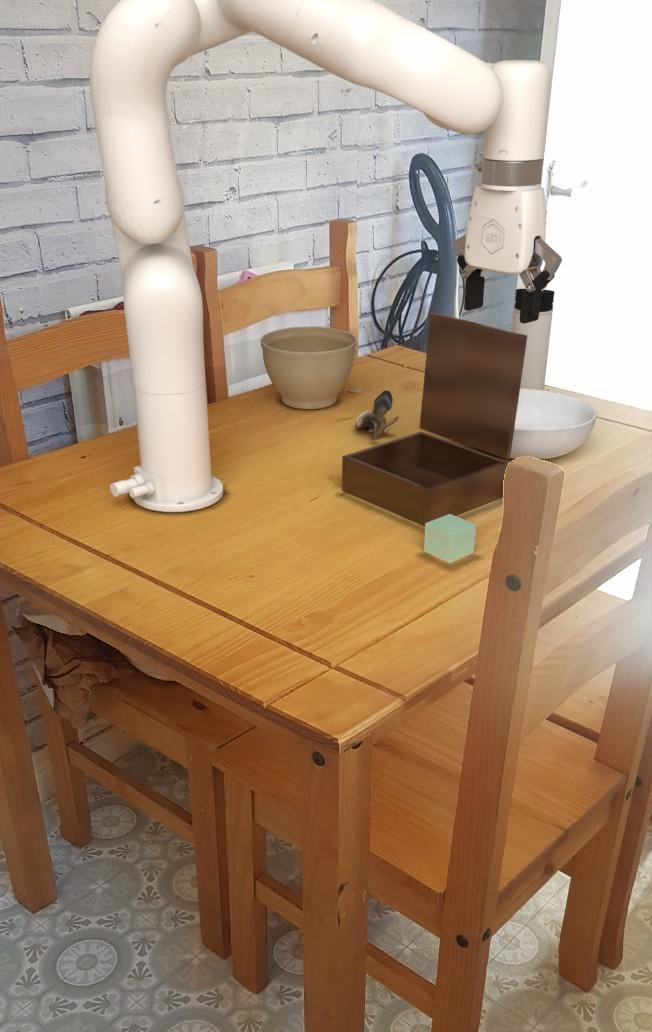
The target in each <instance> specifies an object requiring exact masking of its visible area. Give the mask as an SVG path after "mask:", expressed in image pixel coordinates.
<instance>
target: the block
mask: <svg viewBox="0 0 652 1032" xmlns="http://www.w3.org/2000/svg"><path fill="white" fill-rule="evenodd" d="M476 534H477V524H476V523H474V522H471V521H469V520H466V519H463V518H461V517H460V516H454V515H452V514H448V515H445V516H443V517H440V518H438V519H435V520H433V521H430V522H427V523H425V526H424V541H423V552H424V553H427V554H429V555H431V556H433V557H435V558H438V559H440V560H442V561H444V562H446V563H449V564H451V563H454V562H456V561H459V560H460V559H463V558H465V557H467V556H468V557H469V556H470V555H472V554H474V553H475V547H476Z"/></svg>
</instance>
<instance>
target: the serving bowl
mask: <svg viewBox="0 0 652 1032" xmlns="http://www.w3.org/2000/svg"><path fill="white" fill-rule="evenodd" d="M597 417H598V412H597V409H596V407H595V406H593V405H592V404H591V403H589V402H587V401H585V400H583V399H581V398H579V397H575V396H573V395H569V394H565V393H560V392H555V391H549V390H545V389H544V390H536V389H520V392H519V399H518V406H517V413H516V420H515V427H514V434H513V442H512V449H511V456H510V458H509V459H513V460H515V458H517V457H521V456H530V457H535V458H538V459H539V460H547V459H554V458H557V457H562V456H565V455H568V454H570V453H571V452H573V451H575V450H576V449H578V448H579V447H580V446H581V445H582V444H584V443H585V441H586V440H588V438H589V436H590V435H591V433H592V431H593V429H594V426H595V423H596V421H597Z"/></svg>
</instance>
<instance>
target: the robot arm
mask: <svg viewBox="0 0 652 1032" xmlns="http://www.w3.org/2000/svg"><path fill="white" fill-rule="evenodd" d="M252 32H254V33H255V34H257V35H259V36H260V37H263V38H265V39H266V40H268V41H270V42H272V43H274V44H276V45H277V46H280V47H282V48H283V49H285V50H287V51H289V52H291V53H292V54H294V55H297V56H299V57H300V58H302V59H305V60H306V61H308V62H310V63H311V64H314V65H315V66H317V67H319V68H320V69H323V70H324V71H326V72H328V73H330V74H332V75H334V76H336V77H338V78H339V79H342V80H344V81H346V82H348V83H352V84H353V85H357V86H360V87H365V88H367V89H371V90H373V91H376V92H379V93H382V94H384V95H385V96H389V97H391V98H392V99H395V100H397V101H399V102H401V103H403V104H405V105H407V106H408V107H411V108H413V109H415V110H417V111H418V112H421V114H423V115H424V116H425V117H426V119H427V120H428V121H429V122H430V123H431V124H433V125H435V126H436V127H439V128H441V129H444V130H447V131H451V132H455V133H457V134H459V135H464V136H465V135H466V136H471V135H477V134H480V133H481V132H483V143H482V144H483V146H482V159H481V160H480V161H479V162H478V163H477V166H476V167H477V171H478V172H479V173H481V174H480V175H481V176H480V183H477V184H476V185H475V188H474V191H473V194H472V198H471V203H470V207H469V213H468V218H467V226H466V233H465V234H464V235H462V236H460V237H458V238H457V239H455V240H454V241H453V244H452V245H453V249H454V252H455V255H456V257H457V258H456V263H457V265H458V267H459V268H460V270H461V277H462V278H463V279H464V280H465V283H464V284H465V286H464V303H463V310H464V311H472V310H476V309H481V308H482V307H483V306H484V295H485V281H486V279H485V276H481V275H482V274H483V273H484V272H485V271H488V272H492V273H498V274H504V275H508V276H517V275H519V277H520V279H521V282H522V283H523V285H524V287H525V289H526V290H527V291H523V292H522V297H521V309H520V322H521V323H524V324H525V323H529V322H533V321H537V320H538V318H539V313H540V305H541V294H542V290H543V289H544V290H546V288H547V287H548V285H549V284H550V283H551V281H552V280H553V279H554V278H555V276H556V273H557V272H558V269H559V268H560V266H561V264H562V262H563V258H562V257H561V255H560V254H559V253H557V251H555V250H554V249H553V248H552V247H551V246H550V245H549V244H548V243H547V242H546V232H547V231H546V230H547V211H546V196H545V188H544V187H542V179H543V167H544V158H545V157H544V156H545V147H546V146H545V145H546V136H547V135H546V134H547V127H548V126H547V125H548V115H549V103H550V93H551V83H552V82H551V81H552V73H551V67H550V66H549V64H548V63H546V62H545V61H543V60H535V59H510V60H509V59H505V60H500V61H497V62H485V61H484V60H482V59H480V58H479V57H477V56H476V55H474V54H472V53H470V52H468V51H466V50H464V49H463V48H461V47H459V46H458V45H456V44H454V43H453V42H451V41H449V40H447V39H445V38H444V37H442V36H440V35H438V34H436V33H434V32H432V31H431V30H429V29H427V28H425V27H423V26H421V25H419V24H417V23H415V22H414V21H411V20H409V19H408V18H406V17H404V16H402V15H401V14H399V13H397V12H396V11H394V10H393V9H391V8H389V7H387V6H385V5H384V4H382V3H380V2H379V1H377V0H119V1H118V2H117V3H116V4H115V5H114V6H113V7H112V9H111V10H110V11H109V12H108V14H107V15H106V17H105V18H104V20H103V22H102V23H101V25H100V28H99V30H98V31H97V35H96V37H95V39H94V43H93V46H92V51H91V55H90V62H89V74H88V75H89V91H90V92H89V93H90V100H91V101H90V103H91V107H92V114H93V118H94V119H93V120H94V126H95V131H96V139H97V145H98V150H99V156H100V161H101V166H102V173H103V179H104V185H105V187H104V191H105V192H104V196H105V197H104V198H105V204H106V208H107V212H108V213H109V217H110V222H111V223H110V224H111V227H112V228H111V229H112V233H113V237H114V243H115V247H116V253H117V257H118V262H119V267H120V272H121V279H122V293H123V294H122V296H123V297H122V298H123V310H124V319H125V326H126V335H127V343H128V353H129V363H130V373H131V384H132V389H133V399H134V408H135V409H134V410H135V421H136V429H137V440H138V451H139V461H140V465H137V466H134V467H133V472H134V474H132V475H130V476H129V478H127V479H122V480H119V481H115V482H112V483H110V485H109V487H110V493H111V494H112V496H113V497H114V498H118V497H122V496H125V495H128V494H129V496H130V498H131V499H132V500H133V502H134V503H136V505H138V506H140V507H141V508H144V509H147V510H150V511H155V512H159V513H160V512H161V513H185V512H192V511H197V510H202V509H205V508H208V507H211V506H213V505H215V504H216V503H217V502H220V500H221V499H222V498H223V496H224V484H223V482H222V481H221V480H220V479H219V478H217V477H215V476H214V475H212V464H211V463H212V462H211V446H210V429H209V413H208V398H207V397H208V396H207V395H208V394H207V382H206V367H205V348H204V344H205V343H204V306H203V295H202V290H201V286H200V282H199V280H198V276H197V274H196V271H195V268H194V264H193V263H194V262H193V258H192V251H191V246H190V241H189V234H188V227H187V221H186V215H185V194H184V189H183V186H182V183H181V180H180V177H179V174H178V173H179V172H178V169H177V164H176V158H175V153H174V147H173V146H174V145H173V142H172V134H171V123H170V118H169V117H170V116H169V109H168V102H167V87H168V81H169V78H170V76H171V74H172V72H173V70H174V69H175V68H176V67H177V66H179V65H180V64H182V63H185V61H187V60H188V59H189V58H190V57H192V56H195V55H197V54H199V53H202V52H204V51H208V50H210V49H212V48H215V47H218V46H220V45H223V44H225V43H228V42H231V41H233V40H236V39H238V38H240V37H243V36H245V35H247V34H249V33H252ZM543 263H544V267H543V270H541V268H542V266H543Z"/></svg>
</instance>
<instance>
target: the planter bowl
mask: <svg viewBox="0 0 652 1032" xmlns="http://www.w3.org/2000/svg"><path fill="white" fill-rule="evenodd" d="M356 346H357V337H356V336H355V334H353V333H352V332H349V331H348V330H347V331H346V330H342V329H340V328H339V329H338V328H333V327H326V326H315V325H313V326H308V325H307V326H291V327H290V326H289V327H285V328H279V329H275V330H272V331H269V332H266V333H265V334H263V335H261V337H260V347H261V349H262V360H263V364H264V367H265V371H266V373H267V376H268V378H269V380H270V382H271V384H272V385H273V387H274V389H275V390H276V391H277V392H278V393H279V394H280V398H281V402H282V403H283V404H284V405H286V406H287V407H290V408H294V409H301V410H317V409H324V408H329V407H331V406H333V405H334V404H335V403H336V402H337V401H338V395H339V393H340V392H341V391H342V390H343V388H344V387H345V385H346V383H347V382H348V379H349V377H350V375H351V372H352V368H353V366H354V362H355V361H354V360H355V351H356Z"/></svg>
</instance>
